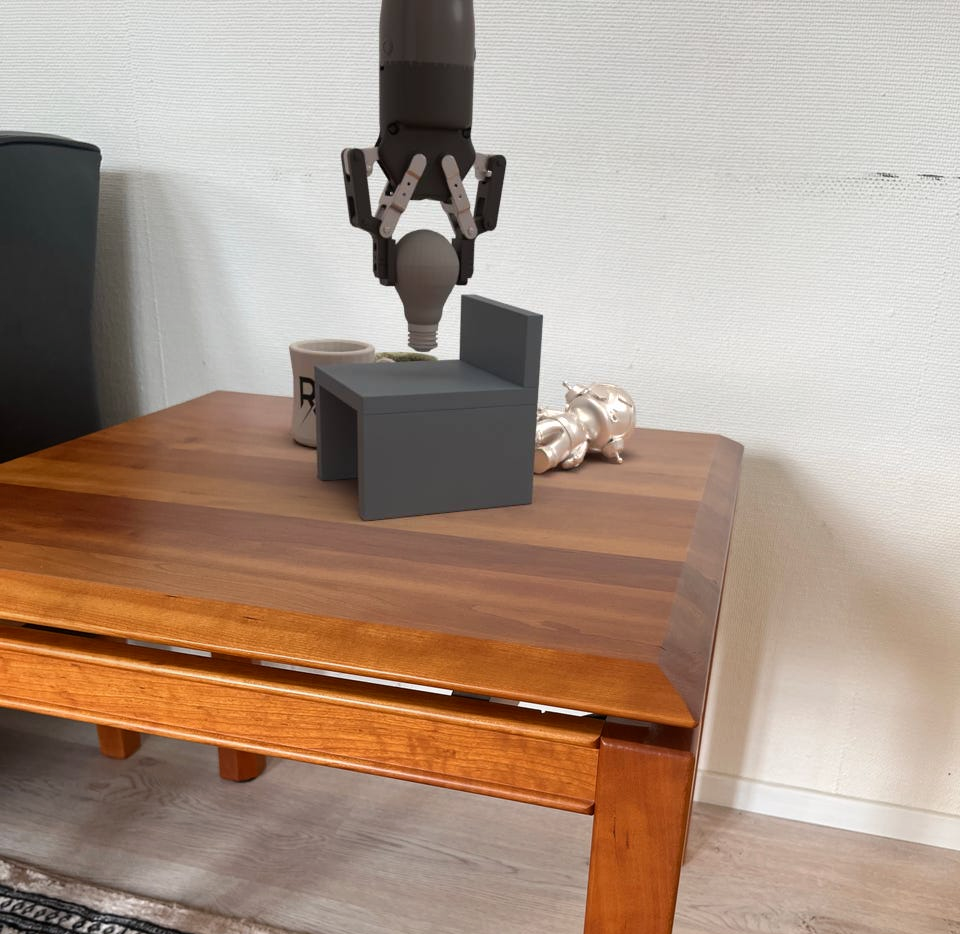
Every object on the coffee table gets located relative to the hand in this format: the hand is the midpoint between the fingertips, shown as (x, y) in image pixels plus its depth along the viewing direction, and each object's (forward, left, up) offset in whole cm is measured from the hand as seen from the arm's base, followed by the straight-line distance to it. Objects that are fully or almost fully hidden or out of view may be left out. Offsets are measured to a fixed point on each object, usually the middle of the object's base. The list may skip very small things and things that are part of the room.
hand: (423, 284), depth 87 cm
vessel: (+10, +32, -18) cm, 38 cm away
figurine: (+19, +5, -18) cm, 27 cm away
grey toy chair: (0, 0, -18) cm, 18 cm away
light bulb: (0, 0, -6) cm, 6 cm away
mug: (-1, +19, -18) cm, 26 cm away
